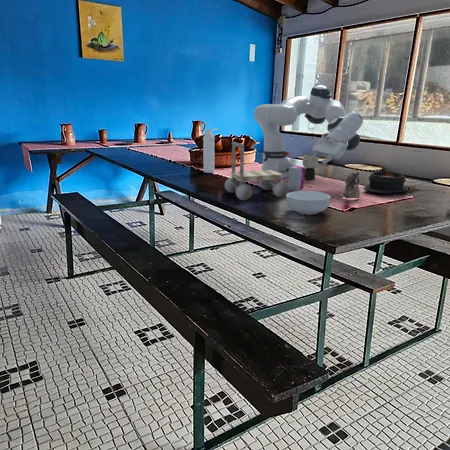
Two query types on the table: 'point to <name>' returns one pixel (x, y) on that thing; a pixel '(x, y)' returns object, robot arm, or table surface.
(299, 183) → the supplement box
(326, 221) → the table surface
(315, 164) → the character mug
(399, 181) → the casserole
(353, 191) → the figurine
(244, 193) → the trolley
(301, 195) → the cereal bowl
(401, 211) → the table surface
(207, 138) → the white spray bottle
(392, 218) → the table surface
